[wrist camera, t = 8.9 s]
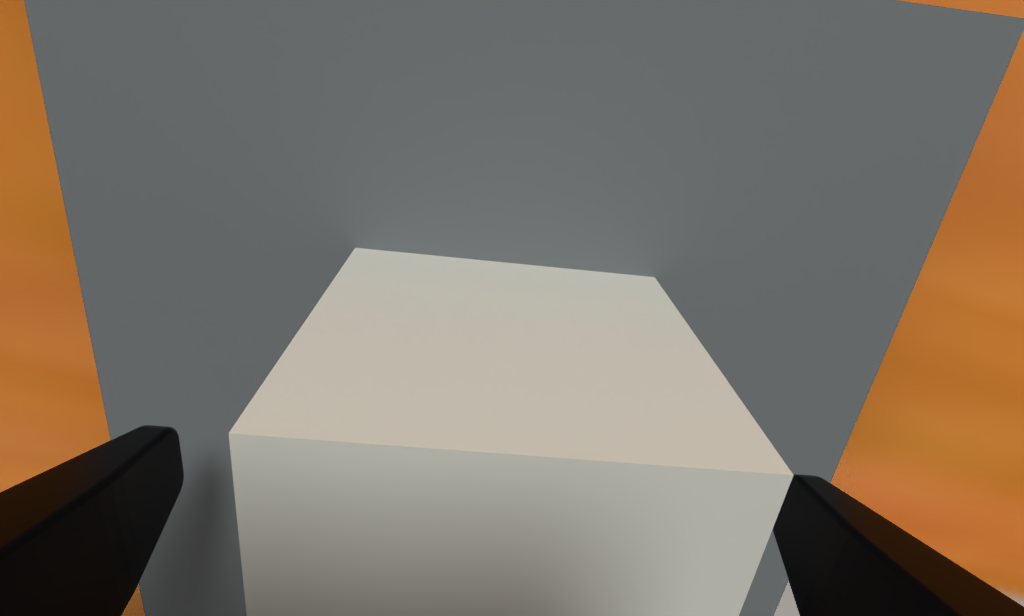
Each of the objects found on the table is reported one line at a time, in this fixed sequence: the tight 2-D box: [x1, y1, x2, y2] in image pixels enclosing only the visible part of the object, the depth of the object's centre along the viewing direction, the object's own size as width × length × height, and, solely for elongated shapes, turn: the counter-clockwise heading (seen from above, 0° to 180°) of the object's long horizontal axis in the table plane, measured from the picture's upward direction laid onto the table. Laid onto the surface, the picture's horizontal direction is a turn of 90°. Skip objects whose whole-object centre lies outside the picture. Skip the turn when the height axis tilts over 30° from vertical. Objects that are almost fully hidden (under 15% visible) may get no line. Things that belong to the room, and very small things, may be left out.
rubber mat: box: [24, 0, 1024, 616], centre depth 11 cm, size 14×14×1 cm
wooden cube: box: [229, 248, 793, 616], centre depth 8 cm, size 5×5×5 cm
